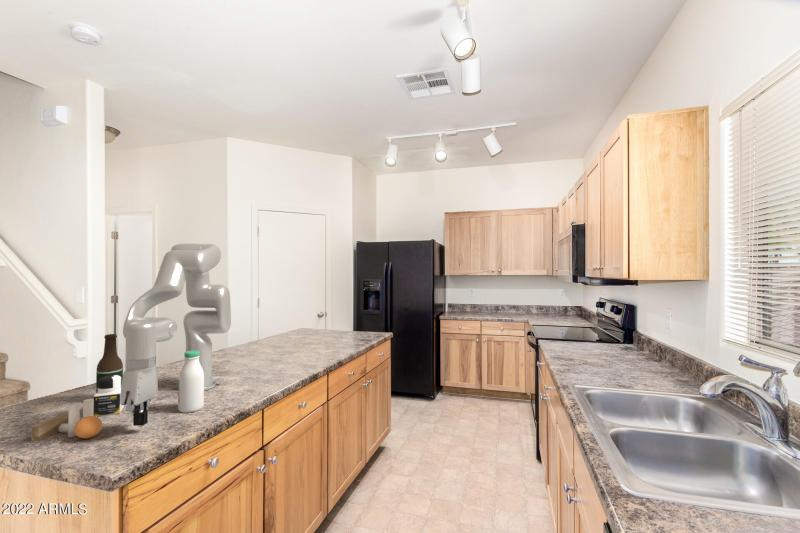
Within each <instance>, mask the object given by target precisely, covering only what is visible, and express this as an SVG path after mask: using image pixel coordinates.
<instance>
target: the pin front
mask: <svg viewBox="0 0 800 533" xmlns="http://www.w3.org/2000/svg"><path fill="white" fill-rule="evenodd" d="M58 433H68V424H67V423H63V424H61V425H60V426H59V428H58Z"/></svg>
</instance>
